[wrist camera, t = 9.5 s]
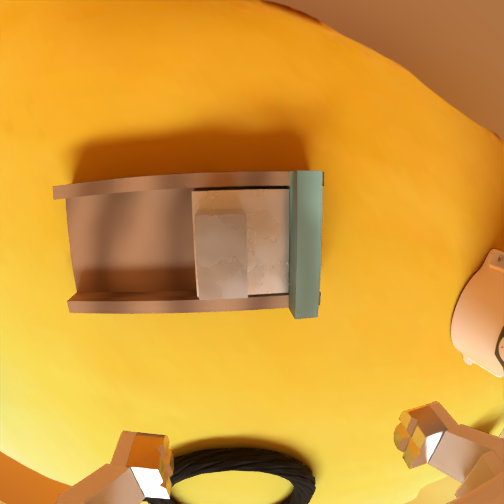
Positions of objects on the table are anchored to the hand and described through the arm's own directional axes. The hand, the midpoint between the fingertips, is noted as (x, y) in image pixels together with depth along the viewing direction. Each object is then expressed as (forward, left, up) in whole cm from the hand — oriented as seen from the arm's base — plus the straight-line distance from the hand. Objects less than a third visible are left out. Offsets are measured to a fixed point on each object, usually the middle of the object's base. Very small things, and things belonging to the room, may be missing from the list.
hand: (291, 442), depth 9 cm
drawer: (+5, -3, -22) cm, 23 cm away
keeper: (0, -3, -21) cm, 21 cm away
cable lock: (+4, +39, -23) cm, 45 cm away
